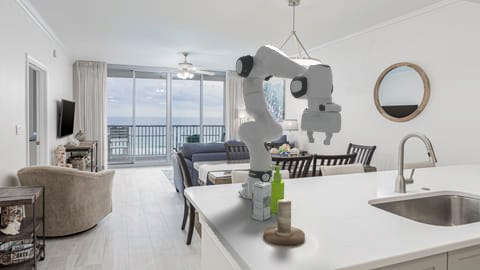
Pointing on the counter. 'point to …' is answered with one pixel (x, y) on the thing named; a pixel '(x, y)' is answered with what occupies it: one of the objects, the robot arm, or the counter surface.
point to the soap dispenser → (276, 189)
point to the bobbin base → (292, 240)
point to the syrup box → (261, 201)
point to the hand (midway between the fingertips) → (318, 143)
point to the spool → (284, 218)
